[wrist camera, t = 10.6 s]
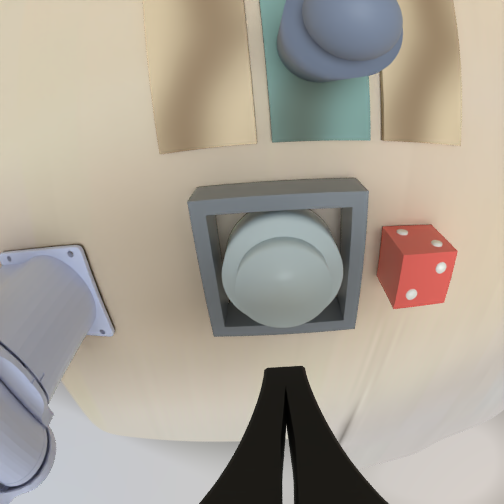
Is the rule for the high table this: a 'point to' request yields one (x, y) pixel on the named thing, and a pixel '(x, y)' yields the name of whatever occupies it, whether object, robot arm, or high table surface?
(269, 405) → the robot arm
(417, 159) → the high table surface
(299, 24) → the pawn
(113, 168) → the high table surface
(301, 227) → the dome
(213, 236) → the dome frame
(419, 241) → the red die
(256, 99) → the high table surface
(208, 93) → the track
